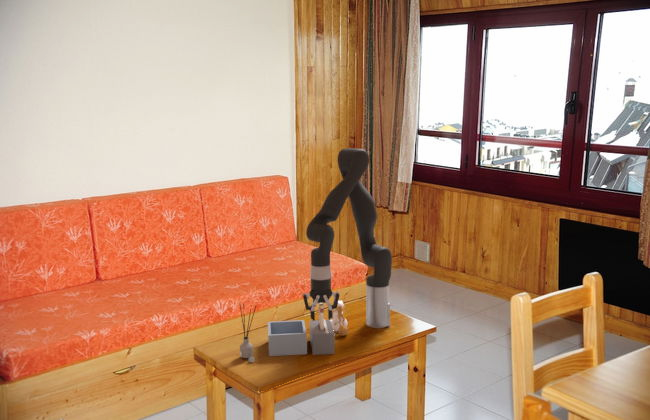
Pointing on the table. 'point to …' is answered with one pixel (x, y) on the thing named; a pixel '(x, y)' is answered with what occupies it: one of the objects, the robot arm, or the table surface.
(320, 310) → the ticket
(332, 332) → the dispenser
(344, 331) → the figurine
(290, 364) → the table surface
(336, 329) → the white creature statuette
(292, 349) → the bin
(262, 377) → the table surface
